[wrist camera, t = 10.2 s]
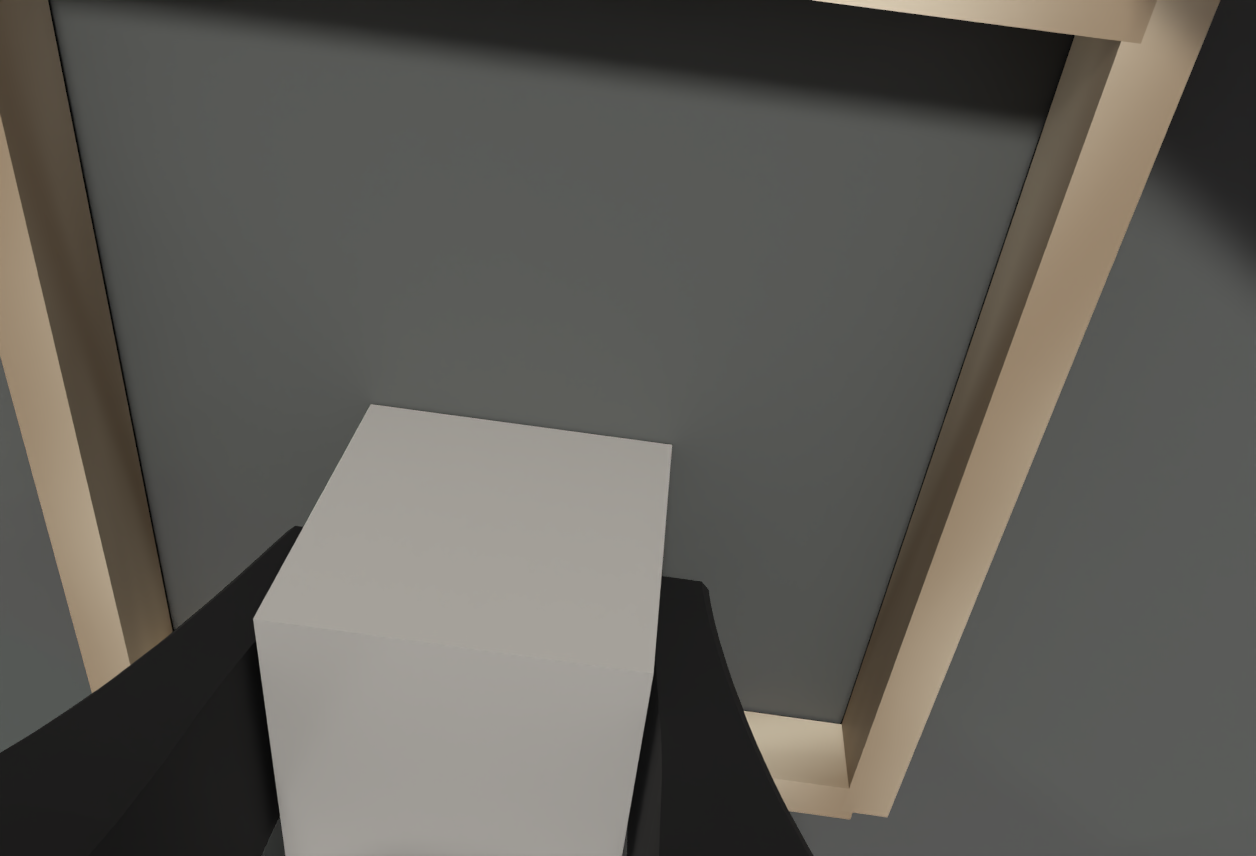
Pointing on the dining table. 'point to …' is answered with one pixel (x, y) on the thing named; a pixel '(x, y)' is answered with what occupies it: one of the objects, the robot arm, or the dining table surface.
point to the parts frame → (956, 478)
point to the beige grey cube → (466, 641)
